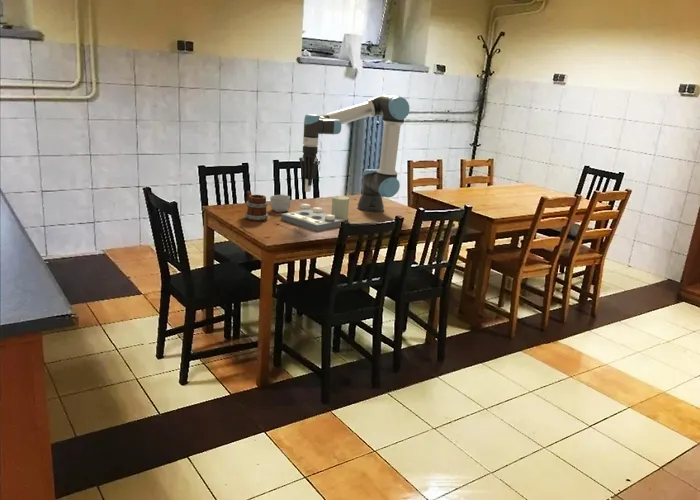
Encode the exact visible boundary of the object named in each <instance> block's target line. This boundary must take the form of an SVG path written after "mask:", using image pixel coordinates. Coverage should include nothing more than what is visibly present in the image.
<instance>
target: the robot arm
mask: <svg viewBox="0 0 700 500" xmlns="http://www.w3.org/2000/svg"><path fill="white" fill-rule="evenodd" d="M410 108H411V107H410V105H409V102H408V100H407V99H406V98H405V97H402V96H400V95H393V94H381V95H379V96H375V97H372V98H369V99H366V101H365V102H363V103H359V104H355V105H352V106H349V107H345V108H341V109H339V110H335V111H332V112H327V113H326V114H322V115H321V114H320V115H319V114H316V113H315V114H314V113H313V114H312V113H307V114H305V115H304V120H303V140H302V144H303V145H302V153H303V154H302V157H299V158H298V160H299V162H300V171H301V177H302V178H304V192H306V193H308V192H311V189H312V184H313V180H314V179H316V177H317V172H318V168H319V165H320V164H321V161H320V160H318V158H317V154H318V152H319V150H318V145H319V135H333V136H334V135H339V134H340V133H341V131H342V125H344V124H347V123H352V122H354V121H358V120H362V119H364V118H368V117H370V118H373V117H378V116H379V117H382V119H381V120H382V122H383V124H384V126H383V137H382V143H381V144H382V145H381V151H380V152H381V153H380V162H379V168H372V169H371V168H367V169H364V170H363V173H362V185H361V195H360V198H359V200H358V203H357V209H358V210H361V211H364V212H372V213H373V212H383V211H384V207H385V205H384V202H383V198H388V199H390V198H393V197H394V196H395V195H396V194H397V193H398V192H399V190H400V187H401V183H400V181H399V179H398V172H397V171H396V166H397V158H398V157H397V156H398V150H399V141H400V132H401V126H402V125H404V124H405V119H406V118H407V117H408V115H409V113H410V111H411V110H410Z"/></svg>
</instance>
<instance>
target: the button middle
mask: <svg viewBox="0 0 700 500" xmlns="http://www.w3.org/2000/svg"><path fill="white" fill-rule="evenodd" d="M312 210H313V213H323V208H322V207H318V206H317V207H312Z"/></svg>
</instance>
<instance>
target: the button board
mask: <svg viewBox="0 0 700 500" xmlns="http://www.w3.org/2000/svg"><path fill="white" fill-rule="evenodd" d="M325 215H327V214H326V213H325V212H322V213H313V209H311V208H310V209H309V210H303V209H301V210H298V211H295V210H294V211H289V212H285V213H284V212H283V213H281V215H280V217H281V218H280V219H281V220H282V221H284V222H287V223H290V224H294V225H296V226H299V227H303V228H306V229H309V230H312V231H314V232H320V231H321V232H322V231H324V230H329V229H335V228H338V227H339V226H340V223H341V222H342V221H345V220H344V219H341V218H337V217H335V220H334V221H328V220H325ZM345 222H346V221H345ZM340 227H341V226H340Z"/></svg>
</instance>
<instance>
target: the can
mask: <svg viewBox="0 0 700 500" xmlns="http://www.w3.org/2000/svg"><path fill="white" fill-rule="evenodd" d="M331 197H332V198H331V213H330V214H331V215H335V217H337V218H341V219H344V220H346V221H349V208H350V207H349V206H350V197H348V196H345V195H333V196H331Z"/></svg>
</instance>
